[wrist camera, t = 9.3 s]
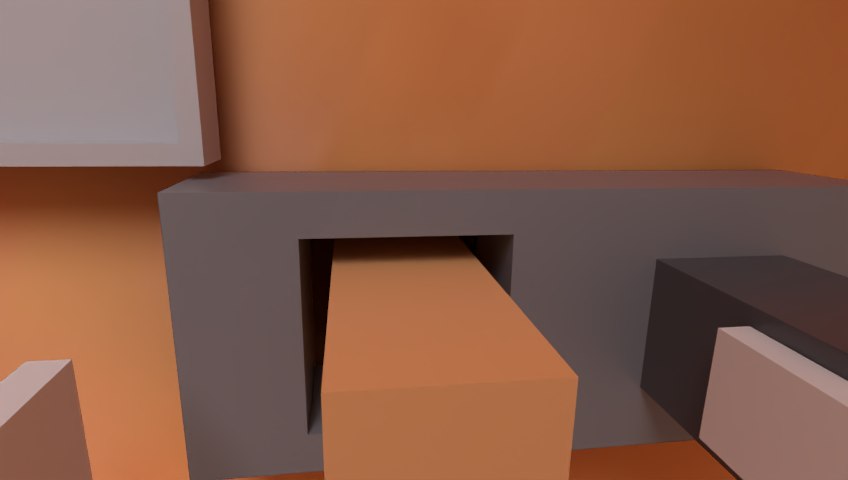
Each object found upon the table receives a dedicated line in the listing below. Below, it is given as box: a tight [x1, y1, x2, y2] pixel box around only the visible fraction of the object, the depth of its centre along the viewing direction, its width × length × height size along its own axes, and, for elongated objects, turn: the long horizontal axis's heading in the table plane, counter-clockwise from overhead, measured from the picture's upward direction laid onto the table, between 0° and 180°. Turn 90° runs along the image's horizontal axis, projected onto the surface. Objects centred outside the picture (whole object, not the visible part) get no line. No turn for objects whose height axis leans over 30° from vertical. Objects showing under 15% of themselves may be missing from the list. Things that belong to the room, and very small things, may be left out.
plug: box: [321, 236, 578, 480], centre depth 13 cm, size 4×4×10 cm
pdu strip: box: [157, 170, 848, 480], centre depth 14 cm, size 8×20×10 cm, turn 89°
